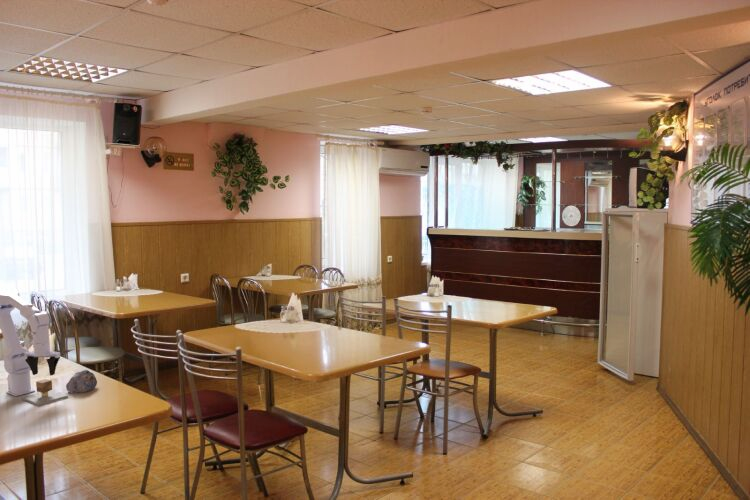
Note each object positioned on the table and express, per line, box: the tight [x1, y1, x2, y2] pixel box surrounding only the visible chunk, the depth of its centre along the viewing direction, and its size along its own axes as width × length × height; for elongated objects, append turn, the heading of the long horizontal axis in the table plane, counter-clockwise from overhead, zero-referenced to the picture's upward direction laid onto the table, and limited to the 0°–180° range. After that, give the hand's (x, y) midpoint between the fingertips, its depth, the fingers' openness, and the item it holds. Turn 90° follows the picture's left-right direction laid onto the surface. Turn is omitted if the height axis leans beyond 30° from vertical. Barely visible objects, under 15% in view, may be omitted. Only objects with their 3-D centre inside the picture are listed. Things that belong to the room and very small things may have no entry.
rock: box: [65, 369, 98, 394], centre depth 266 cm, size 11×10×10 cm
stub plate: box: [21, 389, 69, 407], centre depth 256 cm, size 14×12×3 cm
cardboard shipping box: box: [35, 378, 53, 393], centre depth 255 cm, size 4×4×4 cm
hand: (43, 374), depth 255 cm, fingers open, 7 cm apart
